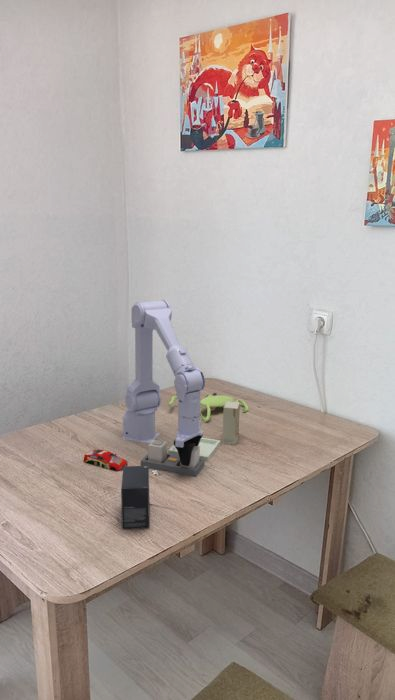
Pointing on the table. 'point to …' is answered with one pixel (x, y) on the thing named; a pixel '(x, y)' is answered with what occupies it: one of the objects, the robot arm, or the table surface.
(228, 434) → the skincare box
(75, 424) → the table surface
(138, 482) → the small box
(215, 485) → the table surface
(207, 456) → the tray
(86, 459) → the race car
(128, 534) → the table surface
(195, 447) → the plug
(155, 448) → the twin plug
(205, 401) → the figurine
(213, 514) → the table surface
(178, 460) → the strip
